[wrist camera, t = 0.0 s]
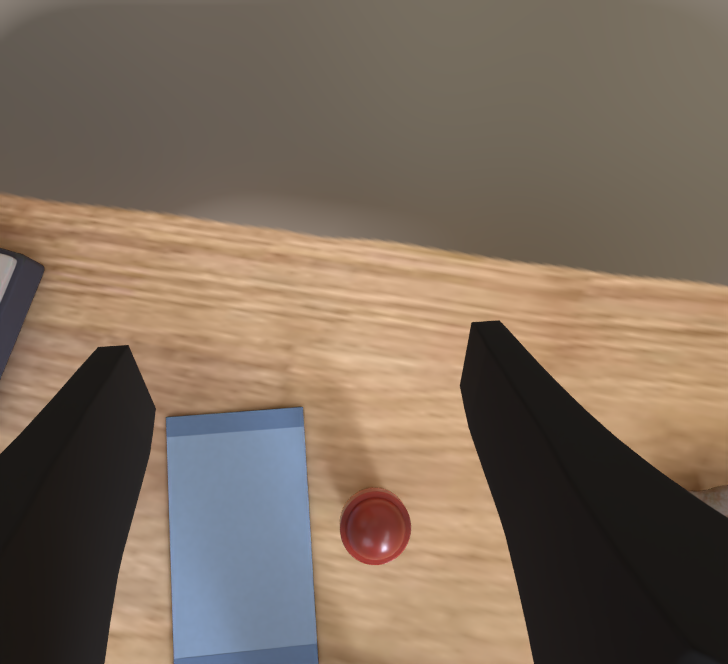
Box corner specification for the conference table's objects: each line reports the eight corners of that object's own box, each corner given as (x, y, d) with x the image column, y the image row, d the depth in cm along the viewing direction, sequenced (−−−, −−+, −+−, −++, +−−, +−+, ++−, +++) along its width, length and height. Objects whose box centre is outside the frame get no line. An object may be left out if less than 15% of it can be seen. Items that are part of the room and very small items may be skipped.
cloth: (318, 663, 41) (318, 665, 41) (175, 678, 40) (174, 681, 40) (302, 406, 43) (302, 406, 43) (167, 417, 42) (165, 417, 42)
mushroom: (405, 543, 42) (418, 571, 36) (341, 549, 42) (343, 578, 35) (400, 478, 43) (412, 493, 36) (337, 483, 42) (337, 500, 36)
